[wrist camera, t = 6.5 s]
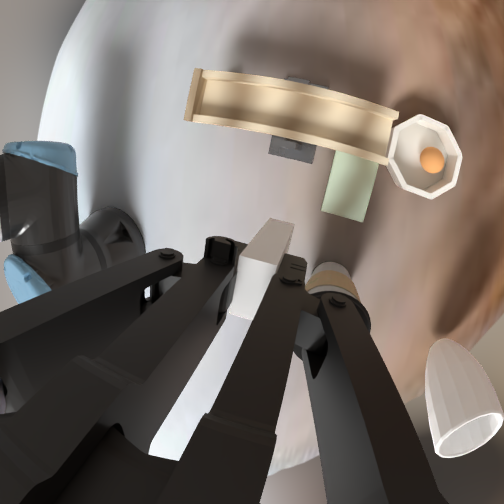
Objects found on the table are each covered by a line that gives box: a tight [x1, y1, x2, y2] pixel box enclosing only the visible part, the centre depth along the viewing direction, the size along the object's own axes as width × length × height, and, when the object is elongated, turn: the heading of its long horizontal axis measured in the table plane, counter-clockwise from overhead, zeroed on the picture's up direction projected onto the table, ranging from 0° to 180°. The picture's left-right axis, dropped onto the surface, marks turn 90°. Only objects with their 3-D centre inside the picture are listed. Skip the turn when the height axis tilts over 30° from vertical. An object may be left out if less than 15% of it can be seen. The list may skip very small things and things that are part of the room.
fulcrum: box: [268, 77, 329, 164], centre depth 32 cm, size 14×11×7 cm
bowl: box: [385, 114, 462, 199], centre depth 30 cm, size 10×10×4 cm
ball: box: [420, 147, 444, 173], centre depth 29 cm, size 4×4×4 cm
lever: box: [184, 68, 399, 222], centre depth 28 cm, size 22×13×3 cm, turn 78°
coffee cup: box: [293, 262, 371, 361], centre depth 34 cm, size 10×9×15 cm
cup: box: [425, 338, 504, 458], centre depth 29 cm, size 10×10×22 cm
